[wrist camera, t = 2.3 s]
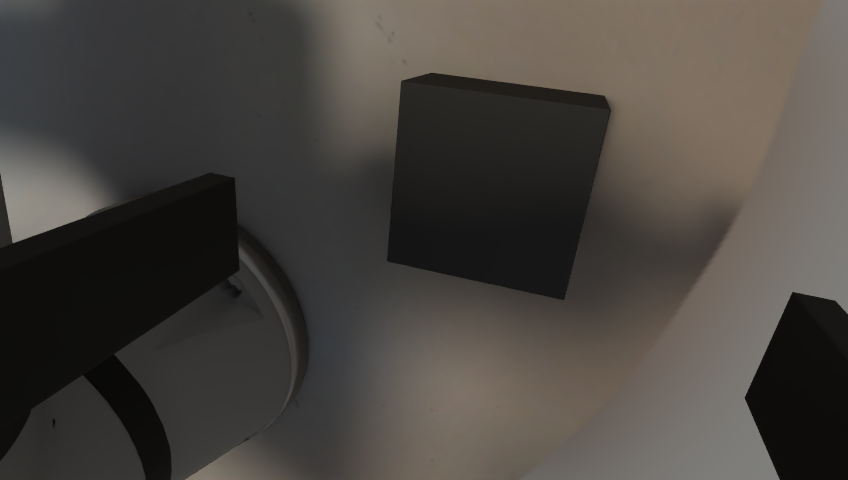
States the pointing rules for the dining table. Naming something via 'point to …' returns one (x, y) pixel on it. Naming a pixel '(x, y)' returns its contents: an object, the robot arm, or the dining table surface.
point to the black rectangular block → (493, 180)
